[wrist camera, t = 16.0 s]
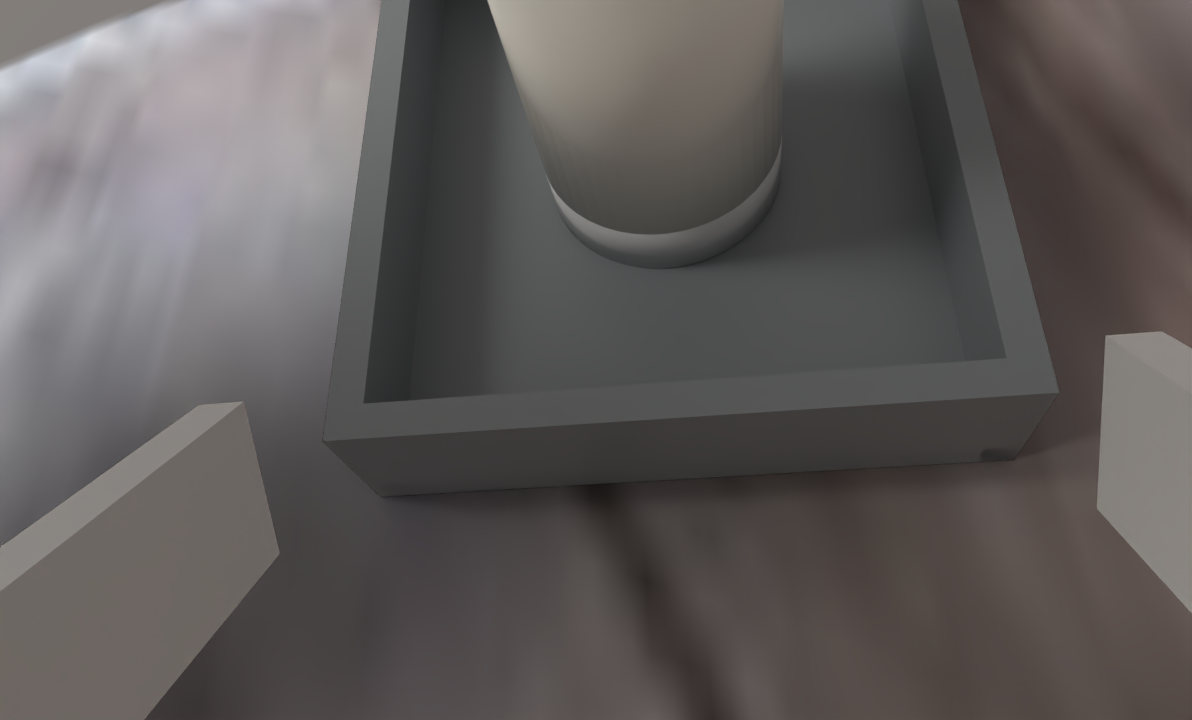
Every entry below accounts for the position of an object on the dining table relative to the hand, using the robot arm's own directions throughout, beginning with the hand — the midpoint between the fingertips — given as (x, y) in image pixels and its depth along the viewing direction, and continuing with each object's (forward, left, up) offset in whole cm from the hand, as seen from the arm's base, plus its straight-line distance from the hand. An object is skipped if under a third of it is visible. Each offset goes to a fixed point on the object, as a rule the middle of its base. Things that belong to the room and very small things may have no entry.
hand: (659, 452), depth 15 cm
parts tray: (0, +10, -7) cm, 13 cm away
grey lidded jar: (0, +10, -6) cm, 12 cm away
